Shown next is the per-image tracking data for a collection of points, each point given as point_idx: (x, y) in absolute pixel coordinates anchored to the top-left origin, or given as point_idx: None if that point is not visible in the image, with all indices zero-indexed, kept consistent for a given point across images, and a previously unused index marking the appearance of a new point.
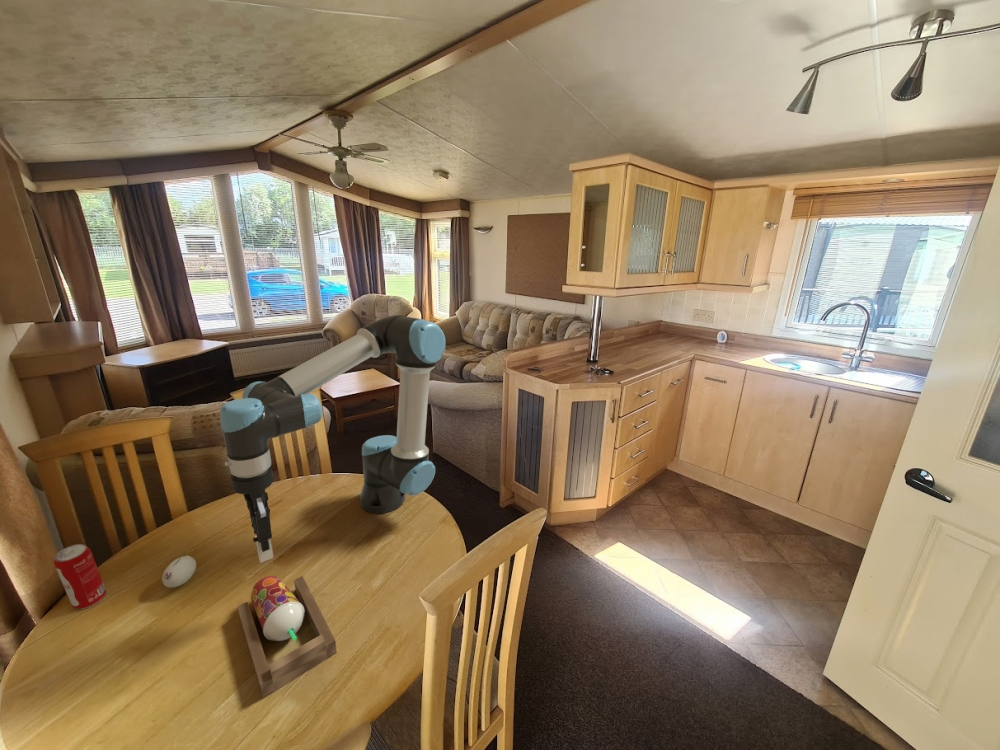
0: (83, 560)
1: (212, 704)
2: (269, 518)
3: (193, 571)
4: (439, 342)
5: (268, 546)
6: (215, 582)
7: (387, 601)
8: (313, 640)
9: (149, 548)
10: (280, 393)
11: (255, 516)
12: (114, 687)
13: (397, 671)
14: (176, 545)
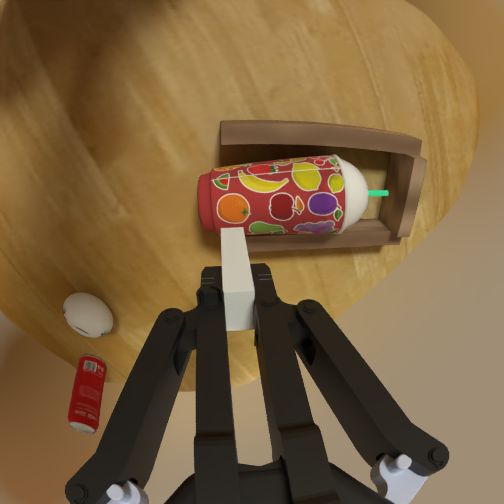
0: (89, 417)
1: (347, 276)
2: (401, 410)
3: (91, 299)
4: None
5: (271, 276)
6: (111, 262)
7: (376, 19)
8: (414, 173)
9: (21, 319)
10: None
11: (366, 460)
12: (243, 347)
13: (468, 97)
14: (19, 297)
